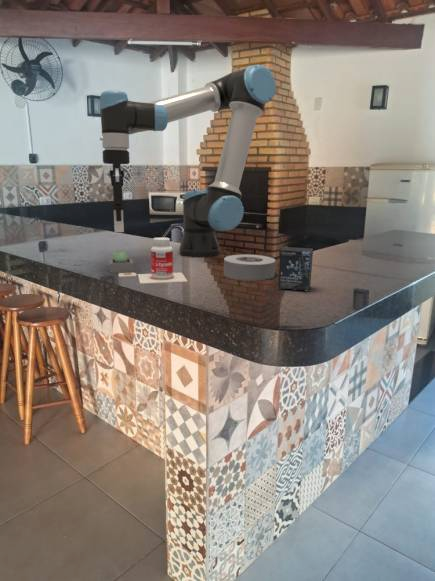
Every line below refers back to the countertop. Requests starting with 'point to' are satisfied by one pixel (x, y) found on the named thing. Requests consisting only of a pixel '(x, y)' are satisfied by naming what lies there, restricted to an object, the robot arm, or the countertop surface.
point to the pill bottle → (161, 259)
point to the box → (295, 268)
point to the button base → (121, 266)
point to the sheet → (149, 279)
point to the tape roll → (249, 267)
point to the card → (127, 274)
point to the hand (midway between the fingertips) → (119, 231)
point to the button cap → (120, 256)
